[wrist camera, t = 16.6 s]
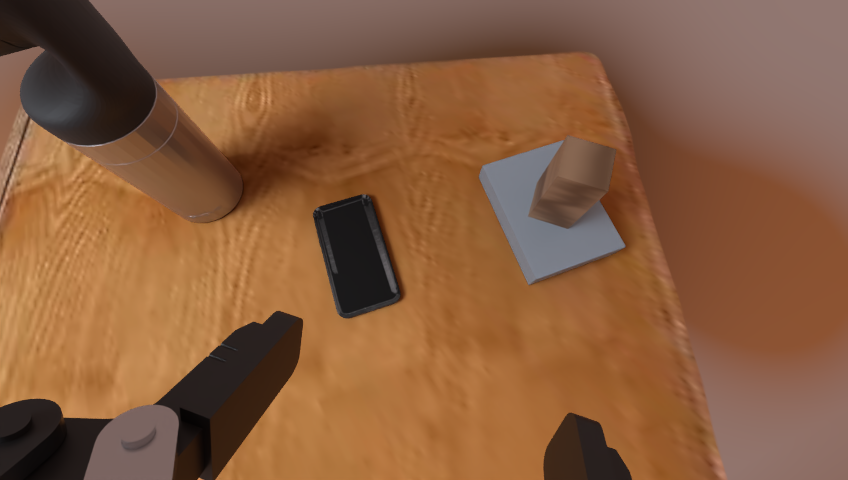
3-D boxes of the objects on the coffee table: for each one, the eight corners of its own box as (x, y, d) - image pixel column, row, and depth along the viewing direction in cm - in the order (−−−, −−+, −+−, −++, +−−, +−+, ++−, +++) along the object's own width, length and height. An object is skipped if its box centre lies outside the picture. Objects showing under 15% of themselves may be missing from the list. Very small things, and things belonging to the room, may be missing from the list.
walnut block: (527, 216, 45) (557, 176, 35) (537, 182, 46) (567, 135, 37) (567, 229, 44) (608, 191, 35) (575, 194, 46) (616, 149, 36)
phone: (369, 192, 48) (402, 299, 43) (370, 196, 49) (403, 301, 44) (310, 209, 47) (338, 320, 42) (312, 212, 48) (340, 321, 44)
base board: (478, 177, 50) (482, 165, 47) (556, 152, 51) (564, 139, 49) (528, 285, 45) (536, 279, 42) (613, 254, 47) (625, 246, 44)
